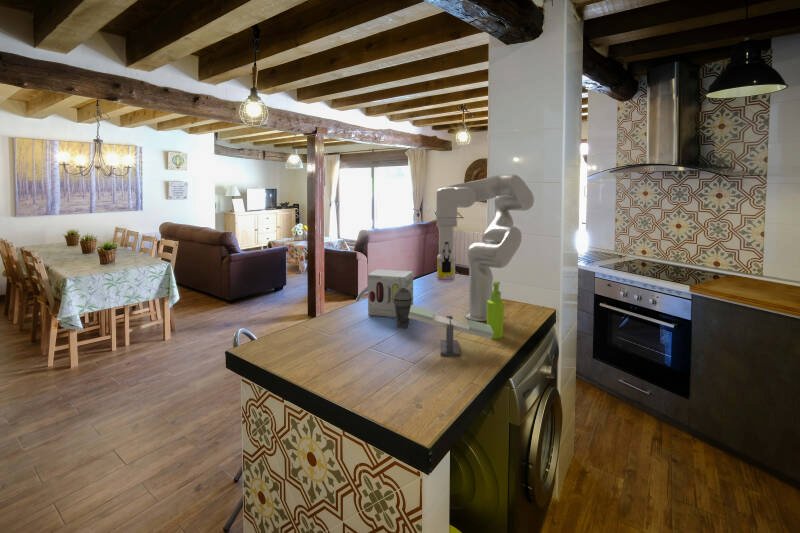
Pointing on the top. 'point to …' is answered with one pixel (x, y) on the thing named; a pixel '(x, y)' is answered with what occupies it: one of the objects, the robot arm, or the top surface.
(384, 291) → the supplement box
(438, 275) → the supplement bottle
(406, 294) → the beverage cup
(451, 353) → the pivot stand
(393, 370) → the top surface
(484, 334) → the beam
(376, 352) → the top surface
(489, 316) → the soap dispenser
